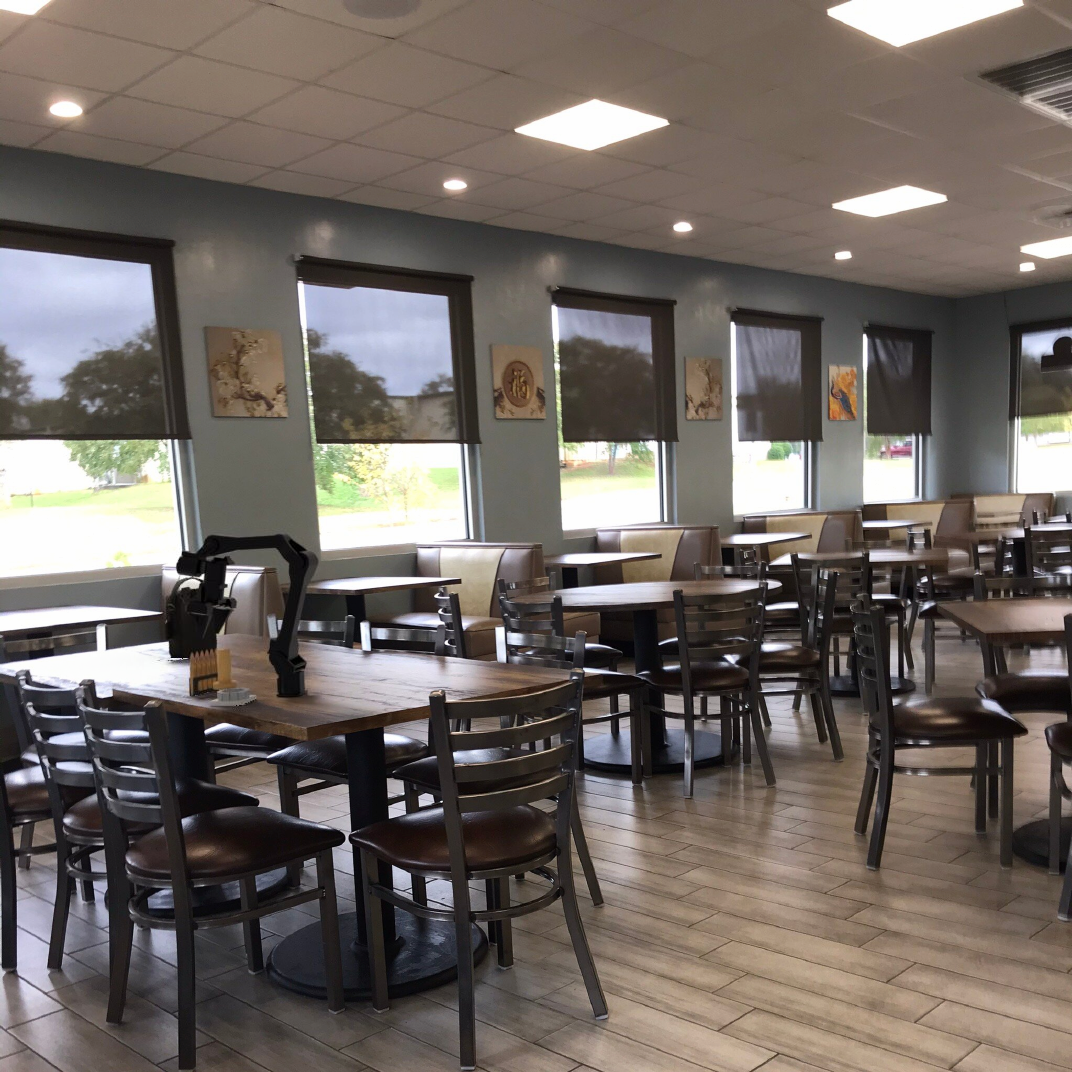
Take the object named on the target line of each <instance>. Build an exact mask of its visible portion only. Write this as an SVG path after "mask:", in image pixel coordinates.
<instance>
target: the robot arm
mask: <svg viewBox="0 0 1072 1072" xmlns="http://www.w3.org/2000/svg"><path fill="white" fill-rule="evenodd" d="M263 549H264V550H265V549H266V550H267V549H276V550H277V551H278V553H279V554H280V556H281V557H282V558H283V560H285V561H286V563H288V578H289V583H290V585H289V589H288V593H287V598H286V602H285V606H284V611H283V612H284V613H283V616H282V622H281V626H280V630H279V634H278V636H277V637H273V638H270V639H269V640H270V641H269V647H268V651H267V652H266V654H267V655H268V661H269V663H270V665H271V666H273V668H274V671H275V673H276V675H277V678H276V690H277V693H276V697H300V696H302V695H305V694H307V693H308V690H306V684H305V683H306V682H305V680H306V679H305V670H306V667H307V664H308V662H307V661H306V660H305V659H304V658H303V657H302V655H301V654H299V647H300V646H299V640H298V631H299V627H300V621H301V617H302V612H303V608H304V604H305V598H306V594H307V589H308V586H309V583H310V582H311V581H312V580H313V579H312V578H313V577H314V576H315V573H316V571H317V568H318V566H319V558H318V557H317V555H316V553H314V552H313V551H311V550H308V549H307V548H305V547H304V545H301V544H300V543H298V542H297V541H296V540H294V538H292V537H291V536H290V535H289V534H287V533H276V534H267V535H249V536H247V535H246V536H239V535H234V534H227V533H225V534H224V533H218V534H216V533H215V534H210V535H207V537H206V538H205V539H204V540H203V545H202V546H200V547H199V549H198V551H196V552H194V551H193V552H192V551H191V550H182V551H181V554H180V556H179V558H178V559H177V562H176V564H175V569H176V572H177V574H178V575H179V576H186V577H195V578H201V577H202V576H203V579H202V580H203V582H199V584H198V587H197V588H191V587H190V586H185V587H182V588H181V589H180V590H181V592H180V596H179V597H180V598H181V599H183V603H186V602H188V603H187V604H186V609H185V611H186V612H188V614H189V615H191V616H192V617H193V618H194V620H195V623H196V628H197V632H198V637H199V638H203V637H204V635H205V632H206V630H207V627H208V625H209V623H210V620H211V618H212V615H213V614H210V613H212V612H213V613H214V632H215V634H216V635H219V634H220V633H221V631H222V629H223V627H225V624H226V623H227V620H228V619H229V617H230V616H231V614H232V613H233V612H234V611H235V610H234V609H237V604H238V600H237V599H236V598H235V597H230V596H225V589H227V588H228V587H229V586H228V583H226V576H227V568H228V567H227V566H234V565H235V564H236V563H235V561H234V560H233V559H232V558H231V557H230V555H227V554H233V553H235V552H240V551H246V550H263ZM223 555H226V556H224V557H219V556H223ZM217 556H218V557H217ZM207 558H211V559H207ZM191 589H192V590H191ZM196 600H197V601H196ZM306 692H307V693H306Z"/></svg>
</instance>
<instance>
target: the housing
mask: <svg viewBox="0 0 1072 1072" xmlns="http://www.w3.org/2000/svg"><path fill="white" fill-rule="evenodd" d="M216 694H217V697H216V698H215V699H213V700H210V701H209V702H210V703H209V705H210V707H240V706H239V705H242V706H244V705H246V704H245V703H247V704H249V703H251V702H250V701H252V700H254V699H256V700H257V695H256V694H250V688H248V687H237V688H229V689H223V690H219V691H216ZM254 701H255V700H254ZM248 702H249V703H248ZM252 702H253V701H252ZM236 705H237V706H236Z"/></svg>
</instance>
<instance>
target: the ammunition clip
mask: <svg viewBox="0 0 1072 1072" xmlns="http://www.w3.org/2000/svg"><path fill="white" fill-rule="evenodd" d="M217 649H218V647H217V648H216V650H215V653H214V652H213V650H212V649H211V651H210V655H209V653H208V650H206V652H205V656H204V653H203V651H201V654H200V657H199V654H198V652H196V656H195V658H194V654H193V653H191V657H190V659H189V663H190V665H189V677H188V681H189V683H188V684H189V685H188V689H189V694H188V695H190V697H196V696H195V695H198V696H201V695H200V694H202V695H205V694H204V693H207V692H211V693H213V692H212V691H215V692H217V690H214V689H213V683H214V682H217V681H218V669H217ZM207 694H208V693H207Z"/></svg>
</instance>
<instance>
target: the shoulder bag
mask: <svg viewBox="0 0 1072 1072" xmlns="http://www.w3.org/2000/svg"><path fill="white" fill-rule="evenodd" d="M189 580H196V581H198V582H199V583H201V582H203V580H204V579H201V578H200V577H192V576H189V577H188V576H186V577H184V578H181V579H179V580H177V581H176V582H175V583H174V585H173V586H172V590H171V593H168V595H166V596H165V622H164V638H165V641H168V653H169V655H170V658H182V659H183V658H190V657H191V653H193V654H194V657H195V656H196V652H198V654H199V658H200V654H201V651H203V653H204V657H205V652H206V650H208V653H209V656H210V651H211V649H212V650H213V652H214V654H215V650H216V648H217V649H218V638H217V635H218V634H215V632H214V613H213V612H212V613H210V614H213V615H212V618H211V620H210V623H209V625H208V627H207V630H206V632H205V635H204V637H203V638H199V637H198V632H197V628H196V623H195V620H194V618H193V617H192V616H191V615H189V614H188V612H186V611H185V609H186V604H187V603H188V602H186V603H183V599H181V598H180V597H179V596H180V592H181V589H180V590H179V588H180V587H181V585H184V583H185V582H187V581H189ZM192 589H193V588H191V590H192ZM196 601H197V600H196ZM160 660H161V659H157V661H159V662H161V661H160Z"/></svg>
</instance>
